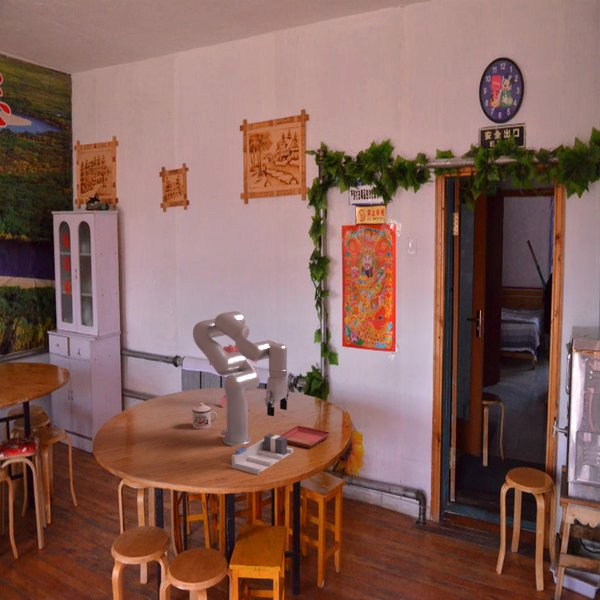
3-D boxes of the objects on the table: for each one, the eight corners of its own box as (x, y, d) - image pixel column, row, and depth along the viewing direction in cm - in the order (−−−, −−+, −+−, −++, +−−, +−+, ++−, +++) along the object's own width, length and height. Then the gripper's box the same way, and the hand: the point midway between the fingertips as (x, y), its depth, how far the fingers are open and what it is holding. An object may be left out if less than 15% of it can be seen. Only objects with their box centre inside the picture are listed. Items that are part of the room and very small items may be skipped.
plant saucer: (311, 451, 258) (311, 444, 258) (276, 443, 268) (276, 436, 267) (330, 438, 274) (330, 432, 273) (297, 431, 283) (297, 425, 283)
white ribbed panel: (231, 467, 240) (231, 452, 240) (268, 446, 263) (268, 433, 262) (258, 474, 234) (257, 459, 233) (293, 452, 256) (293, 439, 255)
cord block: (264, 452, 255) (264, 436, 254) (269, 449, 259) (269, 433, 258) (281, 456, 250) (281, 440, 250) (286, 453, 254) (286, 437, 253)
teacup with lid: (191, 429, 285) (191, 406, 283) (193, 423, 294) (192, 400, 292) (216, 429, 286) (216, 405, 284) (217, 423, 295) (217, 400, 293)
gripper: (281, 367, 259) (280, 405, 261) (258, 376, 244) (258, 416, 247) (296, 370, 255) (295, 408, 257) (273, 379, 240) (273, 419, 243)
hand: (277, 412), depth 252 cm, fingers open, 9 cm apart
